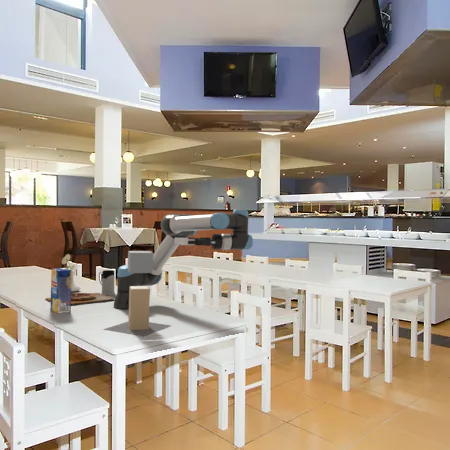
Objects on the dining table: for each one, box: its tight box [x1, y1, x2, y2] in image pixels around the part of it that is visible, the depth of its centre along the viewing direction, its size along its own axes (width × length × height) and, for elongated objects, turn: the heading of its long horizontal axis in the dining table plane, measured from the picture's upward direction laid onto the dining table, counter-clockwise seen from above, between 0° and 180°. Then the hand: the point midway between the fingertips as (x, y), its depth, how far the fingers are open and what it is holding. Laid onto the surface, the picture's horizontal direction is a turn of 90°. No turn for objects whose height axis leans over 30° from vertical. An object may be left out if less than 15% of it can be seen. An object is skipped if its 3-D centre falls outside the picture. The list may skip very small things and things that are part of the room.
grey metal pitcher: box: [98, 269, 116, 296], centre depth 286 cm, size 9×14×15 cm, turn 53°
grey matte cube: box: [127, 250, 154, 273], centre depth 198 cm, size 10×10×9 cm
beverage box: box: [49, 267, 73, 314], centre depth 230 cm, size 7×11×22 cm, turn 40°
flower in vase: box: [61, 253, 81, 293], centre depth 289 cm, size 13×11×25 cm
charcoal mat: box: [102, 321, 172, 337], centre depth 198 cm, size 22×22×1 cm
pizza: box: [45, 292, 116, 306], centre depth 261 cm, size 35×28×4 cm
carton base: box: [127, 286, 151, 330], centre depth 198 cm, size 8×8×18 cm
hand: (177, 241), depth 203 cm, fingers open, 13 cm apart
